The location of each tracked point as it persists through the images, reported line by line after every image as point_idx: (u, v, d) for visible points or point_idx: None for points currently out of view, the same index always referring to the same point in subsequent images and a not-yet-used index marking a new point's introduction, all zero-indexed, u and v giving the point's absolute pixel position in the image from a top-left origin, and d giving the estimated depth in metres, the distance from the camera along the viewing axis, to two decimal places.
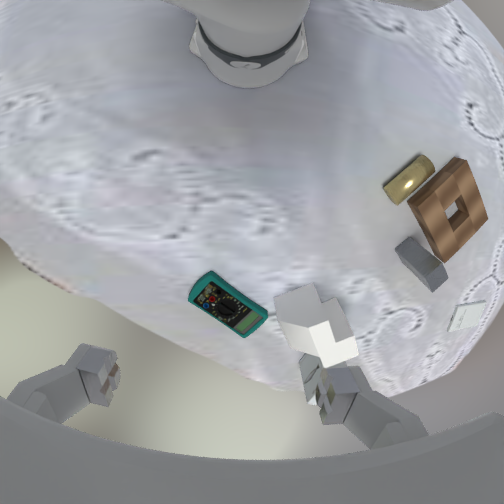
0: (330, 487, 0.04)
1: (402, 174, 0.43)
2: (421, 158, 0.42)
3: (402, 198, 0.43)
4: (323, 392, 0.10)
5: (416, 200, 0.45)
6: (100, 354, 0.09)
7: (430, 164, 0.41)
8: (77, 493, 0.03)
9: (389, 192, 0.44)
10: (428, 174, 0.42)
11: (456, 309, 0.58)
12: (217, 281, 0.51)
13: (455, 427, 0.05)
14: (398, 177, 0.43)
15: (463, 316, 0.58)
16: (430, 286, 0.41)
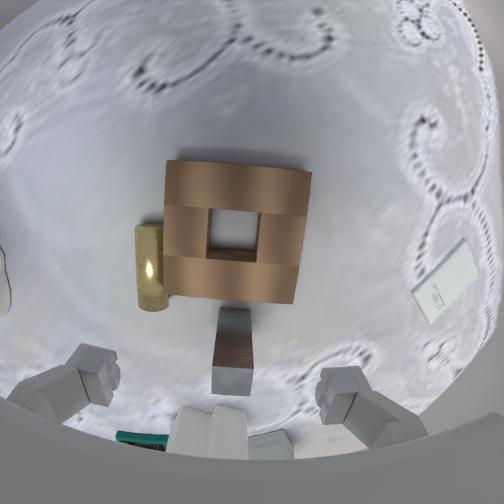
0: (330, 487, 0.04)
1: (142, 281, 0.32)
2: (142, 238, 0.30)
3: (167, 298, 0.34)
4: (323, 392, 0.10)
5: None
6: (100, 354, 0.09)
7: (159, 235, 0.31)
8: (77, 493, 0.03)
9: None
10: None
11: (414, 297, 0.37)
12: (122, 438, 0.44)
13: (455, 427, 0.05)
14: (142, 287, 0.32)
15: (437, 292, 0.37)
16: (235, 394, 0.27)
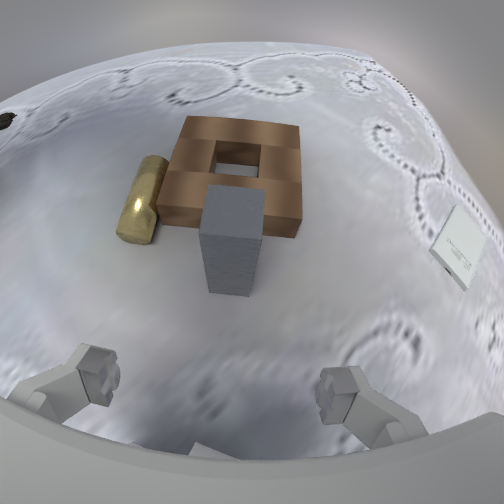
0: (330, 487, 0.04)
1: (130, 196, 0.29)
2: (145, 161, 0.31)
3: (150, 225, 0.29)
4: (323, 392, 0.10)
5: None
6: (100, 354, 0.09)
7: (160, 160, 0.32)
8: (77, 493, 0.03)
9: (127, 230, 0.28)
10: None
11: (435, 253, 0.32)
12: None
13: (455, 427, 0.05)
14: (127, 202, 0.29)
15: (455, 249, 0.33)
16: (237, 234, 0.18)
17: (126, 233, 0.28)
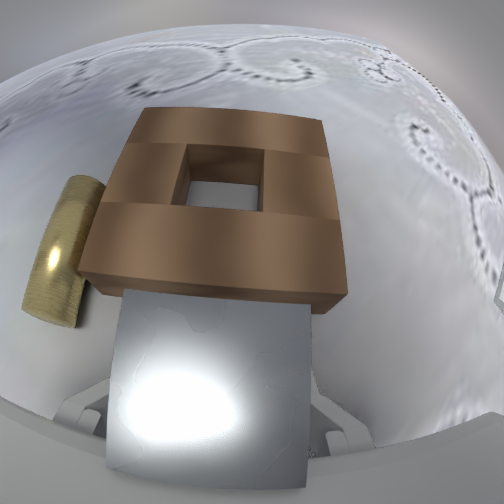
0: (330, 487, 0.04)
1: (37, 252, 0.15)
2: (63, 189, 0.17)
3: (62, 300, 0.14)
4: None
5: None
6: None
7: (83, 180, 0.17)
8: (77, 492, 0.03)
9: (33, 312, 0.13)
10: (92, 202, 0.17)
11: (502, 304, 0.19)
12: None
13: (455, 427, 0.05)
14: (33, 264, 0.15)
15: None
16: (227, 480, 0.04)
17: (37, 315, 0.14)
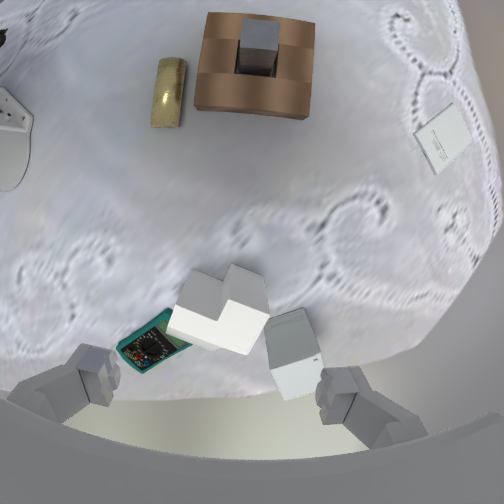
0: (330, 487, 0.04)
1: (153, 100, 0.34)
2: None
3: (165, 116, 0.34)
4: (323, 392, 0.10)
5: None
6: (100, 354, 0.09)
7: (163, 61, 0.31)
8: (77, 493, 0.03)
9: (156, 126, 0.35)
10: (171, 69, 0.31)
11: (417, 138, 0.38)
12: (121, 345, 0.46)
13: (455, 426, 0.05)
14: (153, 105, 0.35)
15: (437, 140, 0.38)
16: (263, 47, 0.24)
17: (159, 126, 0.36)
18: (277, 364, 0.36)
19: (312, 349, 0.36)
